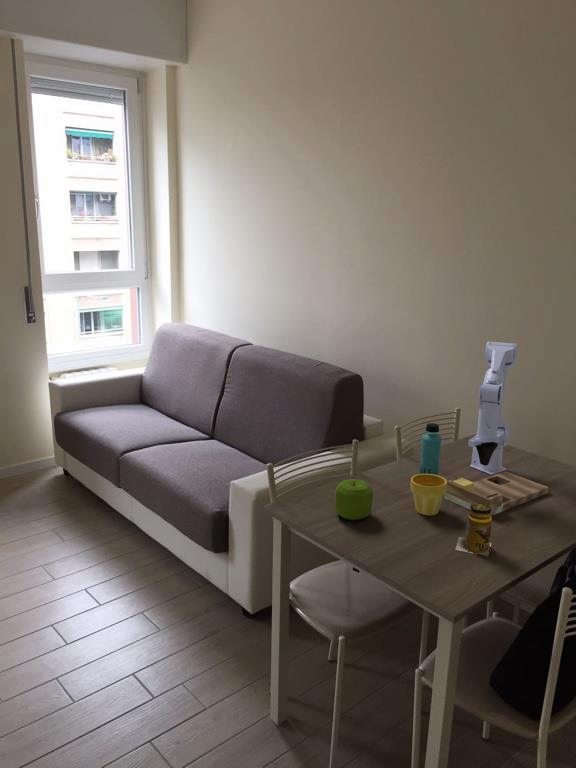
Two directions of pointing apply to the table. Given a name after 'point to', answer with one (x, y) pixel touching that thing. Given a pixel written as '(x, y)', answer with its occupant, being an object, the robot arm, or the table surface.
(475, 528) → the condiment
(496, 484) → the trap board
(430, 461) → the beverage bottle
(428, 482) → the plant pot
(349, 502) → the apple
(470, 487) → the mustard block
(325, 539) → the table surface
